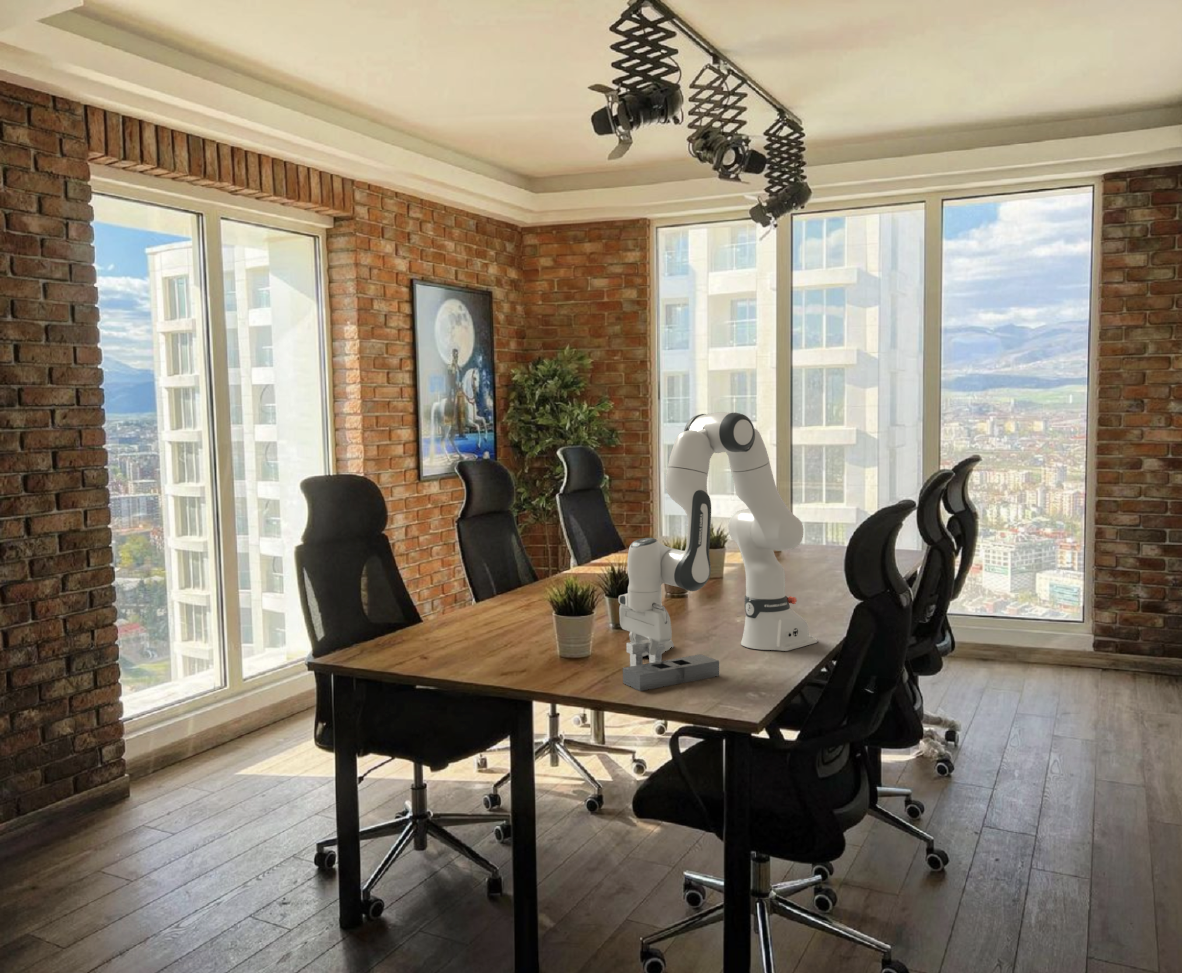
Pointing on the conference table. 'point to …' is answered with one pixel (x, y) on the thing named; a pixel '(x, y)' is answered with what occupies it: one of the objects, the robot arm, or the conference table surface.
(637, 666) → the rail
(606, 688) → the conference table surface
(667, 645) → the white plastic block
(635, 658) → the clip
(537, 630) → the conference table surface
